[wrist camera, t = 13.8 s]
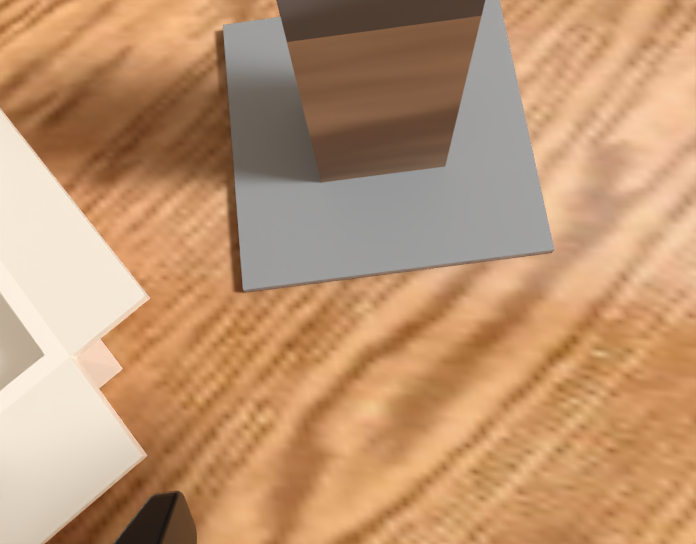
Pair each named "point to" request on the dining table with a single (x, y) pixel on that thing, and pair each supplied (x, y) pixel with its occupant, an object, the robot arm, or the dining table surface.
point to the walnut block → (380, 79)
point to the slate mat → (377, 176)
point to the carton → (55, 351)
